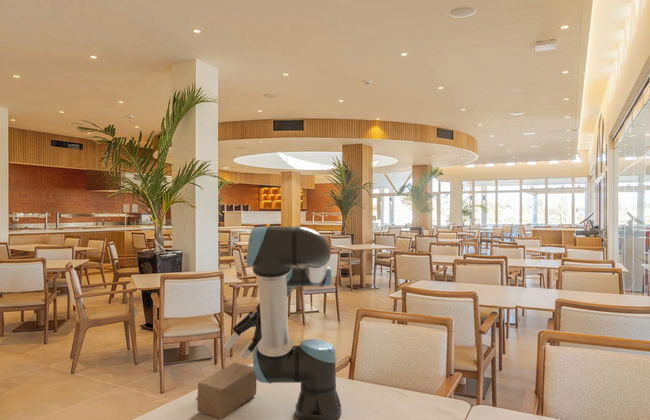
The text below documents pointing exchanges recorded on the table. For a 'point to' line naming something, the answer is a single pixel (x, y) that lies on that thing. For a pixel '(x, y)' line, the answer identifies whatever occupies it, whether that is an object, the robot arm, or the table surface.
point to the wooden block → (226, 390)
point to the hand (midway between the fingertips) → (234, 353)
